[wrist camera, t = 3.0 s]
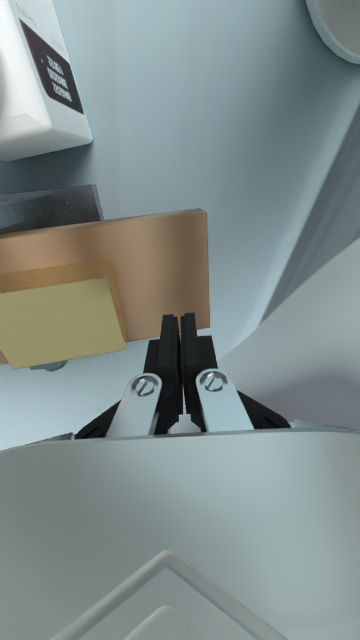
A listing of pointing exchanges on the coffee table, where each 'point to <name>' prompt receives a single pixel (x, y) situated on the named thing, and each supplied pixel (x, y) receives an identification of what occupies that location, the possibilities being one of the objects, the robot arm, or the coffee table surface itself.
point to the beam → (129, 263)
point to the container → (37, 84)
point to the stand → (49, 217)
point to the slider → (60, 313)
